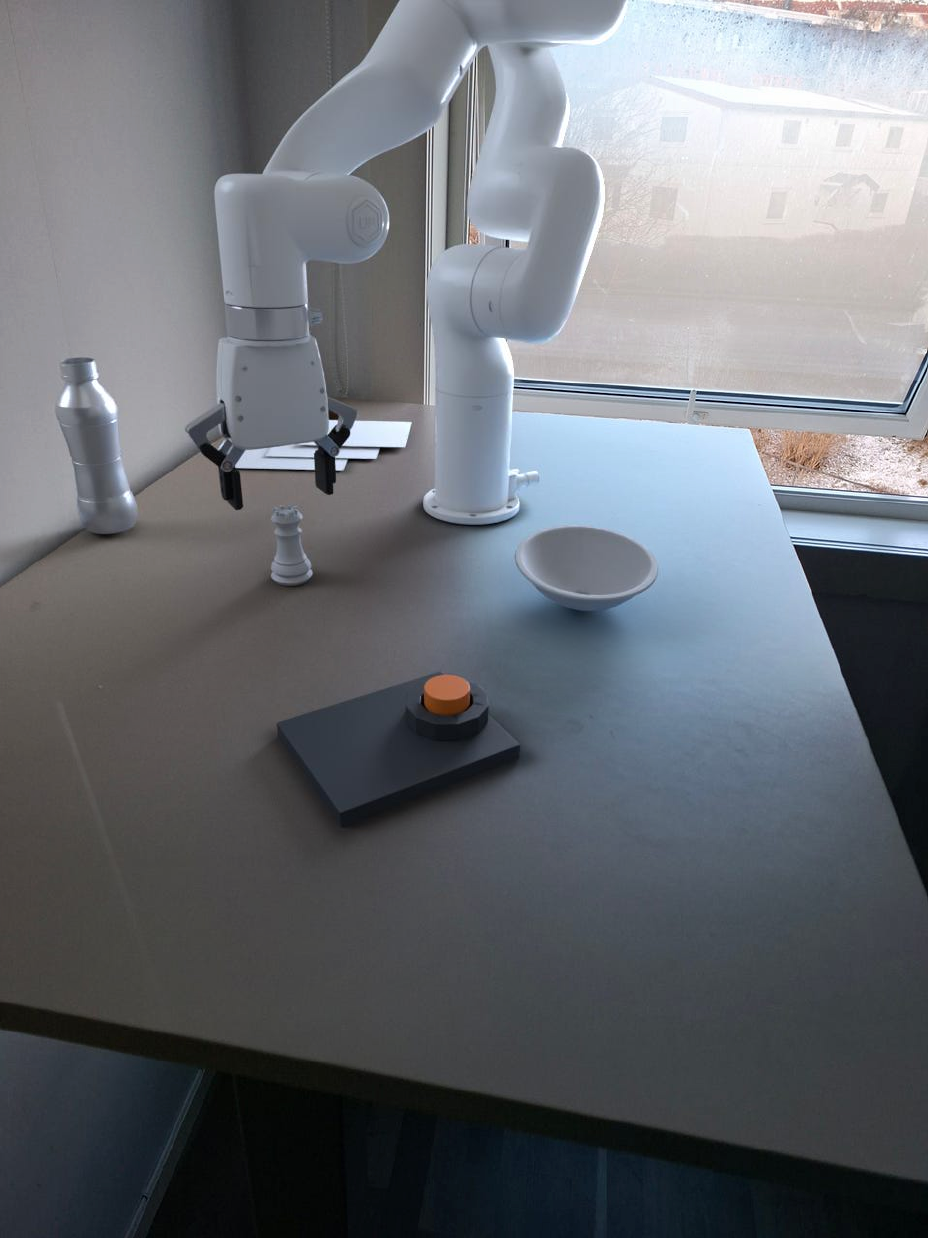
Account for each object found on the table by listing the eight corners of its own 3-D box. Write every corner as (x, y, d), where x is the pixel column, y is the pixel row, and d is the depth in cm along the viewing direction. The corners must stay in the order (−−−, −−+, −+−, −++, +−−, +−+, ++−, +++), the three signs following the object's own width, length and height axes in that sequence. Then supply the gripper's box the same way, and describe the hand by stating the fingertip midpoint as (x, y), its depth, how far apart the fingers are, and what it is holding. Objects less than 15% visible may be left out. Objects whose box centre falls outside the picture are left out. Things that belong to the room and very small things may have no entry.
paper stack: (400, 471, 121) (400, 467, 121) (228, 467, 121) (227, 463, 121) (411, 425, 142) (411, 421, 141) (263, 422, 142) (263, 418, 141)
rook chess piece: (320, 572, 92) (315, 504, 88) (300, 590, 89) (294, 519, 85) (284, 566, 94) (278, 498, 90) (263, 583, 90) (255, 513, 86)
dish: (666, 647, 80) (673, 600, 77) (515, 643, 80) (517, 596, 78) (637, 567, 95) (642, 526, 93) (510, 563, 95) (512, 522, 93)
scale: (443, 683, 74) (443, 654, 72) (522, 757, 65) (524, 726, 63) (277, 736, 67) (274, 705, 65) (341, 828, 58) (338, 795, 56)
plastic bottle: (122, 543, 98) (88, 369, 88) (70, 537, 99) (30, 365, 90) (151, 522, 104) (121, 356, 94) (101, 517, 105) (67, 352, 95)
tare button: (454, 686, 69) (454, 670, 68) (478, 708, 66) (478, 691, 65) (416, 698, 67) (415, 682, 66) (438, 721, 64) (438, 705, 64)
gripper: (337, 313, 85) (342, 475, 93) (162, 322, 77) (185, 499, 85) (369, 324, 79) (373, 496, 88) (185, 336, 71) (208, 524, 79)
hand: (280, 498), depth 86 cm, fingers open, 9 cm apart
